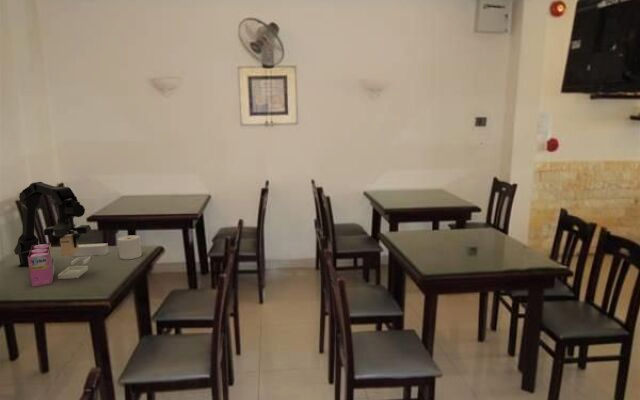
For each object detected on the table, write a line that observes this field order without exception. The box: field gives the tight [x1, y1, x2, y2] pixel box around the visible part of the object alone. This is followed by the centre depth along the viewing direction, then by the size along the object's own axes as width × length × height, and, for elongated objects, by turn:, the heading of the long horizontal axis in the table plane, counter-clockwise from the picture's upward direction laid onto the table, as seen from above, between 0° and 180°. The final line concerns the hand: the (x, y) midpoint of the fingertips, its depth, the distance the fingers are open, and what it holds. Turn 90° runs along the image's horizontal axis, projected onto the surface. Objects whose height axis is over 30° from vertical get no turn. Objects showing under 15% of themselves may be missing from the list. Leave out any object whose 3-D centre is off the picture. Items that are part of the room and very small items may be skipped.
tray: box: [57, 265, 89, 280], centre depth 215 cm, size 9×11×2 cm
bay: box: [70, 242, 110, 266], centre depth 238 cm, size 16×20×5 cm
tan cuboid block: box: [59, 233, 79, 256], centre depth 212 cm, size 4×8×8 cm, turn 5°
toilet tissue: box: [117, 234, 143, 260], centre depth 239 cm, size 11×12×10 cm
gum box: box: [28, 241, 56, 288], centre depth 212 cm, size 24×8×14 cm, turn 27°
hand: (70, 248), depth 213 cm, fingers closed on tan cuboid block, 4 cm apart
